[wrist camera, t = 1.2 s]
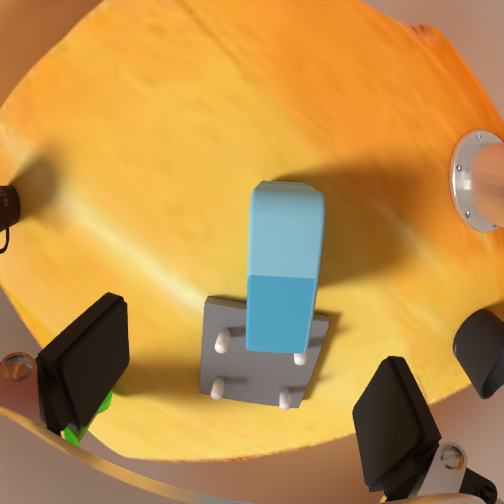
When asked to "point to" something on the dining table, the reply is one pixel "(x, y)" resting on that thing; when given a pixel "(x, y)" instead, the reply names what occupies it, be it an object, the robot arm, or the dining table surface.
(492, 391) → the pen holder
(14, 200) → the coffee mug
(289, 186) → the blue rounded block
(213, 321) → the pin tray
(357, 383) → the dining table surface
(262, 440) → the dining table surface
